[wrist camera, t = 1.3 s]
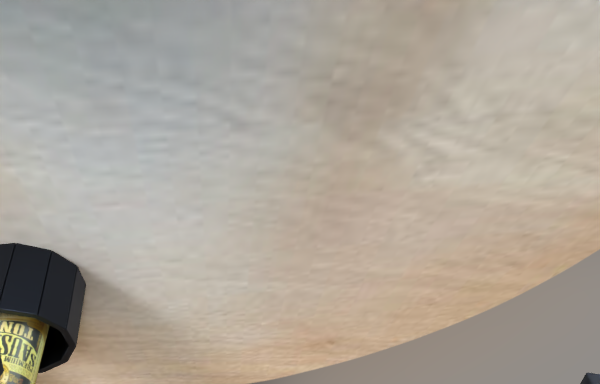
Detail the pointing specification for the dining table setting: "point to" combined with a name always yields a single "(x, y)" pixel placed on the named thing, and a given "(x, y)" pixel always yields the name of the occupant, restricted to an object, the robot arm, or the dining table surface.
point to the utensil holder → (43, 296)
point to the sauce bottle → (21, 348)
